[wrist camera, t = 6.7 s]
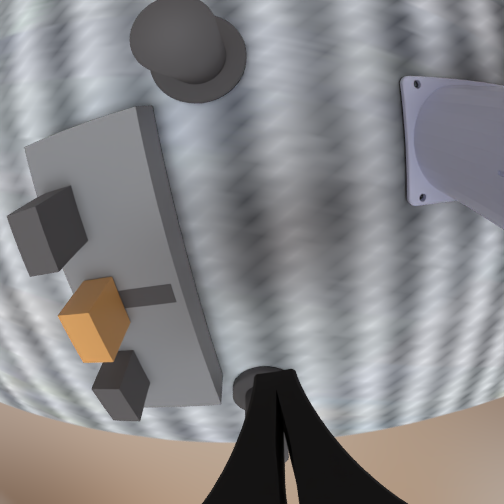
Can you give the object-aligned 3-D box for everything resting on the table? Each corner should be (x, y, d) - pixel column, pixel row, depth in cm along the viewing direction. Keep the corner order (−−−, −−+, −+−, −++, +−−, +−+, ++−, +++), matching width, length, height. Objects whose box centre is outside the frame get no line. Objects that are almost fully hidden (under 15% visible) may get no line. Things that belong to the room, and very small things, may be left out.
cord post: (292, 363, 24) (302, 437, 18) (295, 401, 26) (303, 468, 20) (228, 369, 24) (223, 444, 18) (238, 407, 26) (237, 474, 20)
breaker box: (152, 105, 16) (105, 108, 10) (222, 375, 25) (219, 443, 19) (51, 139, 16) (-16, 161, 10) (142, 380, 25) (125, 442, 19)
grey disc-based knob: (238, 11, 14) (235, -40, 8) (252, 94, 16) (258, 86, 10) (148, 31, 14) (97, -4, 8) (162, 112, 16) (115, 117, 10)
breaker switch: (112, 276, 17) (88, 313, 14) (130, 322, 18) (113, 362, 15) (83, 280, 17) (57, 315, 14) (103, 324, 18) (83, 362, 15)
